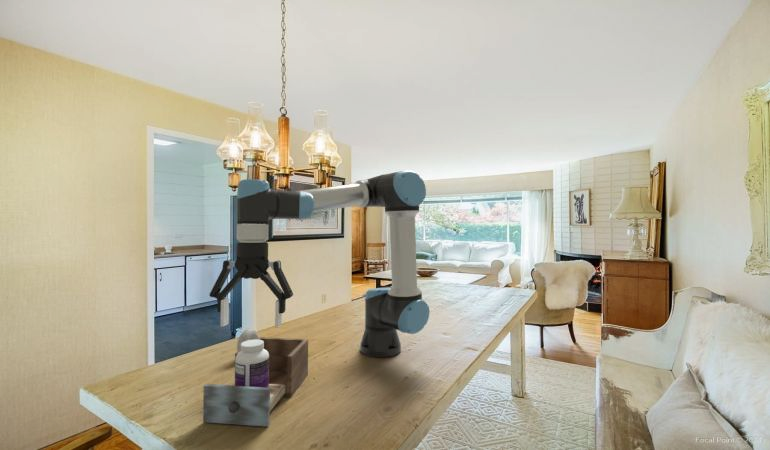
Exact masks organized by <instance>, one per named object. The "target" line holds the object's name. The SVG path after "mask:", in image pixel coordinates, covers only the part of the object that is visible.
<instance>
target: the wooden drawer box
mask: <svg viewBox="0 0 770 450" xmlns="http://www.w3.org/2000/svg"><path fill="white" fill-rule="evenodd" d="M257 339H258V340H263V341H264V348H263V349H265V350H267V351H268V353H269V384H277V385H285V393H284V395H283V396H282V397H281V398H283V397H284V398H292V397H293V395H295V393H296V392H297V390H298V389H299V388H300V386H301V385H302V383H303V382H304V381H305V379H306V378H307V376H308V374H309V339H308V338H291V337H290V338H288V337H287V338H285V337H267V336H266V337H265V336H263V337H262V336H258V338H257ZM239 352H241V350H239V351H238V352H235V353H234V359H235V358H236V356H237V354H238V353H239Z"/></svg>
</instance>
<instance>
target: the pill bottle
mask: <svg viewBox="0 0 770 450" xmlns="http://www.w3.org/2000/svg"><path fill="white" fill-rule="evenodd" d="M263 348H264V341H263V340H258V339H254V340H247V341H244V342H242V343H241V352H239V353H238V354H237V356H236V358H235V357H234V386H248V387H265V388H269V353H268V351H267V350H265V349H263Z"/></svg>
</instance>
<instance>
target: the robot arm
mask: <svg viewBox="0 0 770 450" xmlns="http://www.w3.org/2000/svg"><path fill="white" fill-rule="evenodd" d="M236 194H237V195H236V214H237V215H236V219H237V220H236V236H235V237H236V240H237V241H238V242H237V243H236V250H235V251H236V252H235V256H236V260H232V259H226V260H223V263H222V269H221V271H220V273H219V275H218V276H217V279H216V281H215V282H214V285H213V287H212V288H211V291H210V292H209V297H210V298H215V299H216V300H217V312H218V313H220V327H222V328H223V327H225V326H227V325H229V321H230V320H229V318H230V317H229V315H230V312H229V310H230V298H229V297H227V296H228V294H229V293H231V291H232V290H233V289H234V288H235V286H237V285H238V283H240V281H242V279H243V278H244V279H253V280H257V279H260V280H261V281H263V282H264V284H265V285H266V286H267V287H268V288H269V289H270V291H271V292H272V293H273V294H274V296H275V297H276V298H277V299H276V300H275V302H274V303H275V309H274V312H275V313H274V314H275V315H274V316H275V317H274V325H275V326H274V328H280V327H281V325H282V314H284V313H286V300H288V299H290V298H292V297H293V296H294V293H293V290H292V289H291V285H290V284H289V282H288V280H287V277H286V276H285V273H284V272H283V269H282V262H281V260H275V261H269V242H267V241H269V224H270V222H269V221H270V220H307V219H310V218H311V217H312V216H313V213H321V212H325V211H332V210H338V209H344V208H350V207H357V206H358V207H359V208H362V209H363V208H367V207H377V208H380V207H381V208H384V213H385V214H386V215H387V216H388V218H389V234H390V235H389V237H390V239H389V240H390V241H389V243H390V265H391V266H390V267H391V286H389V287H387V286H386V287H377V288H376V287H375V288H369V289H368V290H367V291H365V299H364V301H365V308H364V310H365V311H364V313H365V319H364V324H365V326H364V332H363V334H362V338H361V341H360V342H359V343H360V345H359V347H360V348H359V350H360V352H361V353H362V354H363V355H365V356H368V357H373V358H390V357H393V356H396V355H398V354H400V353H401V347H402V345H401V341H400V337H399V334H398V331H399V332H401V333H403V334H409V335H414V334H415V335H416V334H418V333H420V332H421V331H422V330H423V329H424V328H425V326H426V325H427V323H428V321H429V318H430V307H429V305H428V303H427V302H426V301H425V300H423V296H422V295H423V292H422V291H423V290H422V289H420V288H419V287H418V277H417V276H418V275H417V274H418V272H417V270H418V269H417V268H418V267H417V241H416V239H417V237H416V216H417V214H419V212H420V205H421V204H422V203H423V202H424V200H425V198H426V196H427V188H426V184H425V182H424V179H423V177H421V176H420V174H418V173H417V172H415V171H413V170H399V171H395V172H391V173H390V172H389V173H385V174H380V175H377V176H373V177H370V178H366V179H362V180H357V181H355V182H354V183H351V184H344V185H336V186H328V187H317V188H312V189H303V190H280V189H273V188H271V187H270V183H269V182H268V181H267V180H262V179H253V178H252V179H251V178H250V179H249V178H247V179H242V180H239V182H238V183H237V192H236ZM234 268H235V269H236V270H237V272H236V273H235V274H234V275H233V277H232V278H231V279H230V280H229V282H228V283H227V284H226V285H225V283H226V281H227V279H228V277H229V276H230V275H229V274H230V273H231V271H232V269H234ZM269 268H271V270H273V273H274V275H275V277H276V279H277V281H278V283H279V285H278V284H277V282H276V281H275V280H274V279H273V277H272V276H271V274H270V273H269V272H268V270H269ZM224 285H225V286H224ZM280 287H281V288H280Z"/></svg>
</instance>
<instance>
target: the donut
mask: <svg viewBox="0 0 770 450" xmlns="http://www.w3.org/2000/svg"><path fill="white" fill-rule="evenodd" d="M258 337H259V334H258V331H257V330H256V329H255V328H252V327H251V328H246V329H245V330H243V331H242V332H241V333H240V335H239V337H238V339H237V344H236V351H237V352H238V351H239V350H241V343H242V342H244V341H247V340H254V339H257V338H258ZM237 352H236V353H237Z"/></svg>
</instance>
